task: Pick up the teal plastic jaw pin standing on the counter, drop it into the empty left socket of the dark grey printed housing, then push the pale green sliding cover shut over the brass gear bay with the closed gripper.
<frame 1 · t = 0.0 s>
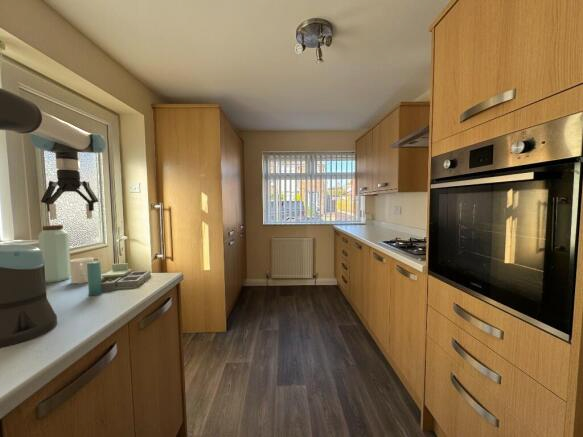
hand: (71, 219, 110), 28 cm above the counter, fingers open, 13 cm apart
jaw pin: (95, 293, 96), on the counter
mug: (83, 282, 111), on the counter
housing: (123, 283, 109), on the counter
water bottle: (57, 280, 115), on the counter
cover: (116, 269, 111), point 5 cm above the counter, slide at 8.0 cm
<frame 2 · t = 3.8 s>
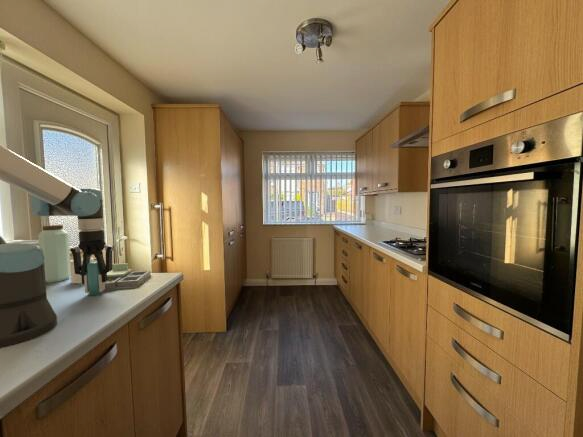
hand: (95, 290, 96), 1 cm above the counter, fingers closed on jaw pin, 4 cm apart
jaw pin: (95, 293, 96), on the counter, touching gripper
everything else where it was.
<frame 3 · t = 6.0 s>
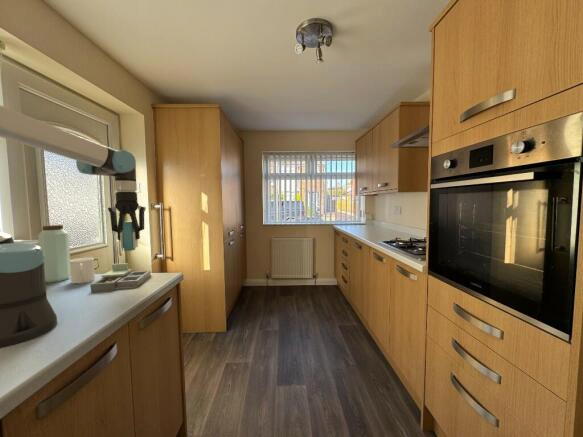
hand: (129, 247, 106), 16 cm above the counter, fingers closed on jaw pin, 4 cm apart
jaw pin: (129, 250, 106), point 15 cm above the counter, touching gripper
everything else where it was.
when the fingers open (3 cm above the counter, at t = 8.4 s): jaw pin drops 1 cm, resting on housing.
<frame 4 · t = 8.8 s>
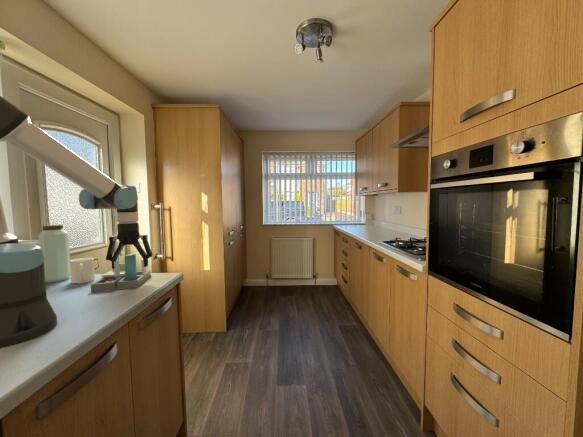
hand: (130, 275, 106), 4 cm above the counter, fingers open, 9 cm apart
jaw pin: (131, 283, 107), point 1 cm above the counter, touching housing
everything else where it was.
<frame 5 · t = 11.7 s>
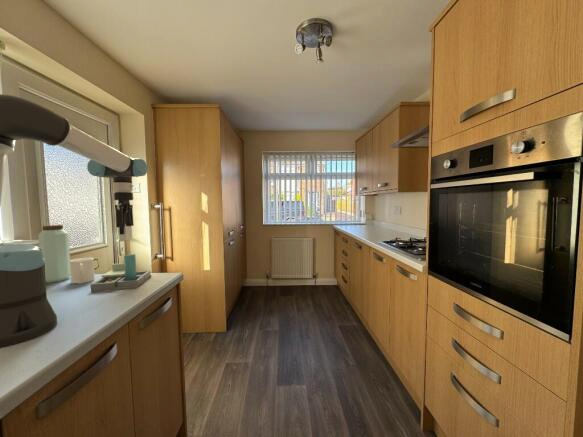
hand: (126, 240, 121), 17 cm above the counter, fingers open, 6 cm apart
nothing on the counter moved.
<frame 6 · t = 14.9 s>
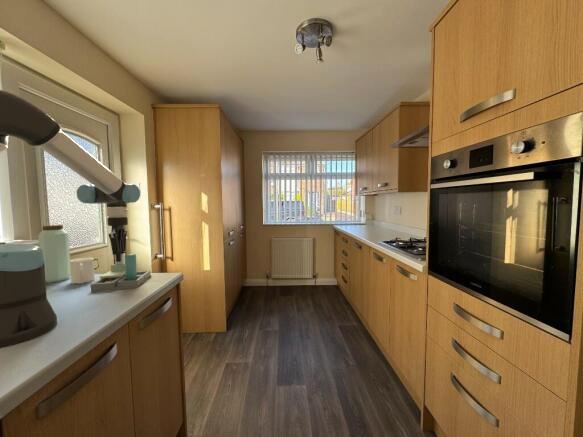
hand: (120, 268, 115), 5 cm above the counter, fingers closed
cover: (115, 270, 110), point 5 cm above the counter, slide at 6.6 cm, touching gripper
everything else where it was.
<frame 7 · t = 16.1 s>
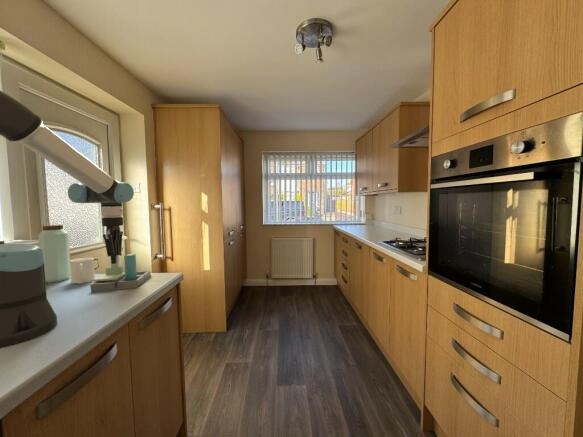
hand: (115, 270, 110), 5 cm above the counter, fingers closed
cover: (110, 273, 105), point 5 cm above the counter, slide at 2.0 cm, touching gripper
everything else where it was.
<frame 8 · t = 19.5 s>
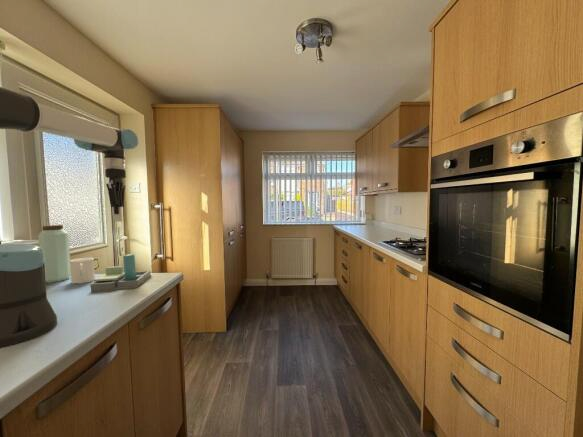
hand: (118, 221, 114), 26 cm above the counter, fingers closed
cover: (110, 273, 105), point 5 cm above the counter, slide at 2.0 cm
everything else where it was.
at the end: jaw pin 0.0 cm from the target spot on the housing, point 0.7 cm above the housing's base; jaw pin tilted 3°; cover slide at 2.0 cm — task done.
